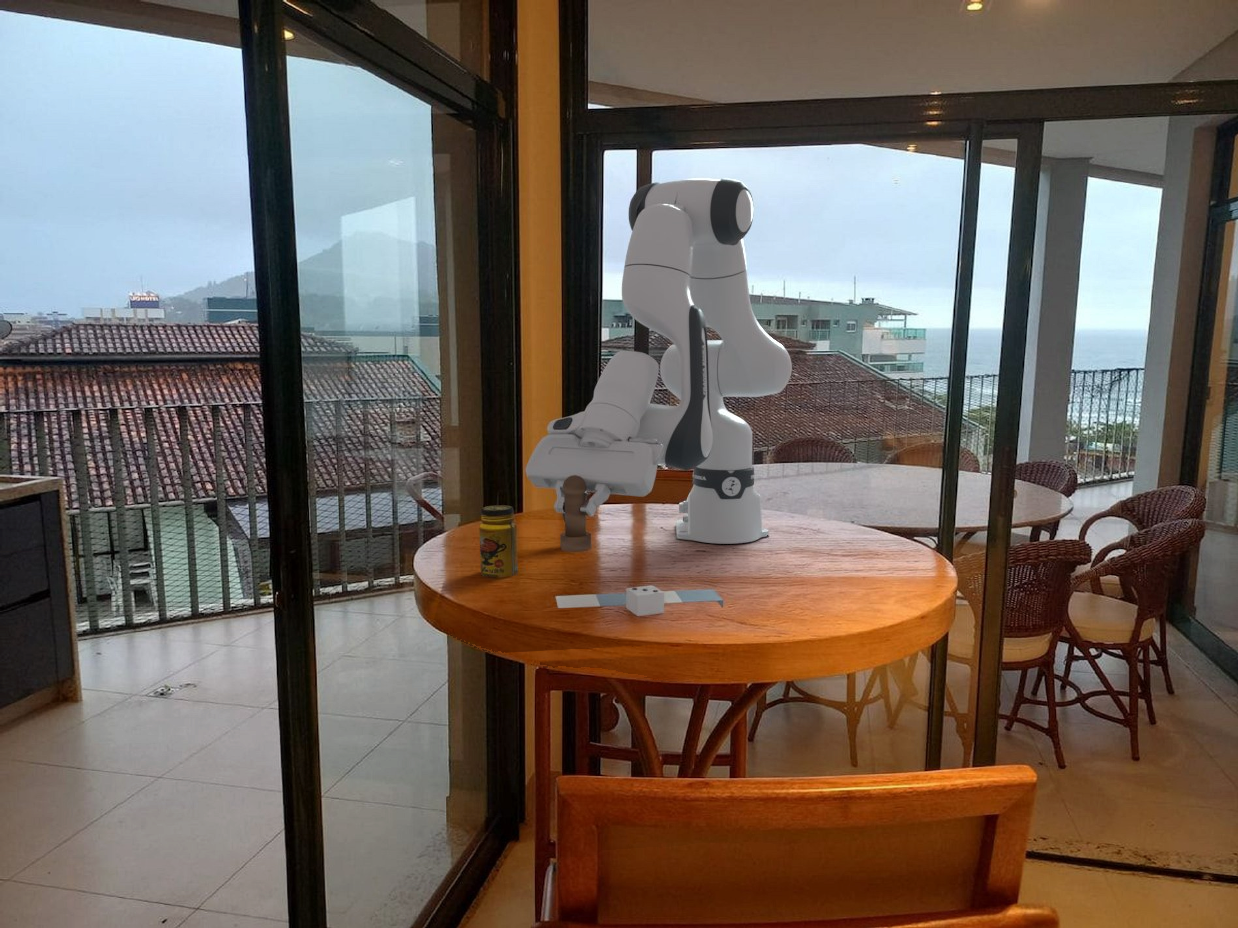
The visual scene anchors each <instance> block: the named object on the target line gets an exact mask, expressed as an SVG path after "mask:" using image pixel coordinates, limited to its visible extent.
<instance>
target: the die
mask: <svg viewBox="0 0 1238 928" xmlns="http://www.w3.org/2000/svg"><path fill="white" fill-rule="evenodd" d="M625 590H626V592H625V593H626V605H625V606H626V608H625V609H627V610H628V611H630V612H631V614H632V613H633V614H634V615H635V616H637V617H641V616H650V615H657V614H664V613H665V603H664V592H663V591H662V590H661V589H660V588H658V587H656V586H654V585H653V584H652V585H644V586H635V587H634V586H633V587H627V588H626V589H625Z"/></svg>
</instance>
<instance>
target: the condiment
mask: <svg viewBox="0 0 1238 928" xmlns="http://www.w3.org/2000/svg"><path fill="white" fill-rule="evenodd" d="M514 511H515V509H514V507H513V506H510V505H504V504H502V505H501V504H500V505H499V504H498V505H489V506H485V507H482V508H481V512H480V513H481V518H480V519H481V520H480V521H481V523H480V525H479V528H478V530H479V532H478V533H479V548H480V549H479V554H480V555H479V557H480V574H481V575H480V576H483V577H486V578H494V579H499V578H510V577H513V576H516V575H517V574H518V572H519V571H518V564H519V563H518V536H517V535H518V533H517V530H518V529H517V524H516V522H515V516H514Z"/></svg>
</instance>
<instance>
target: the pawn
mask: <svg viewBox="0 0 1238 928" xmlns="http://www.w3.org/2000/svg"><path fill="white" fill-rule="evenodd" d="M563 491H564V504H565V522H564V532H563V533H560V537H559V538H560V550H561V551H563V552H566V553H583V552H587V551H590V550H591V549H592V534H591V533H590V532H588V531H587V522H586V521H587V519H586V518H587V516H584V515H583V513H581V511H580V508H581V506H582V503H583V501H584V500H585V492H586V482H585V481H584V479H583V478H582V477H580V476H577V475H572V476H569V477H568V478H566V479H565V481H564V483H563Z"/></svg>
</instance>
